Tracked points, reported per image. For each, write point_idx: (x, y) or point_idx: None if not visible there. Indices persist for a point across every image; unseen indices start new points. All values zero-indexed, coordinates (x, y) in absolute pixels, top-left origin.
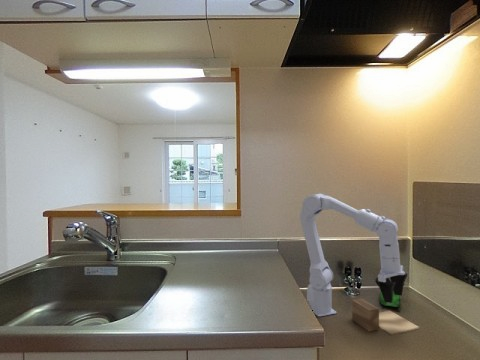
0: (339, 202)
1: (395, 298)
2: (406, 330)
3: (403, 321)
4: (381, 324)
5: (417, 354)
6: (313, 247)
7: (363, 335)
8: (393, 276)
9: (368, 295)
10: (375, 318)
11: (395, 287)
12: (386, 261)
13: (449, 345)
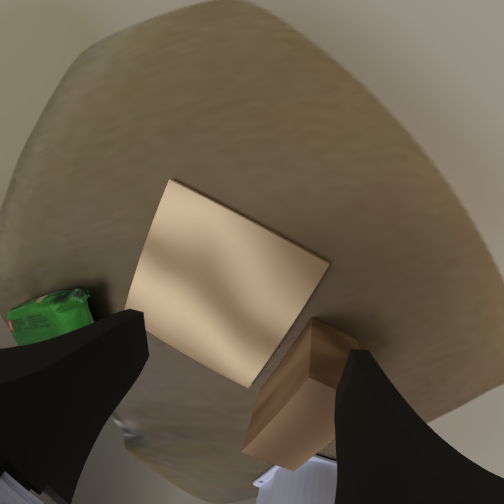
0: None
1: (63, 314)
2: (241, 216)
3: (169, 248)
4: (271, 319)
5: (407, 139)
6: None
7: (401, 345)
8: (56, 467)
9: None
10: (330, 356)
11: (113, 386)
12: None
13: (230, 57)
